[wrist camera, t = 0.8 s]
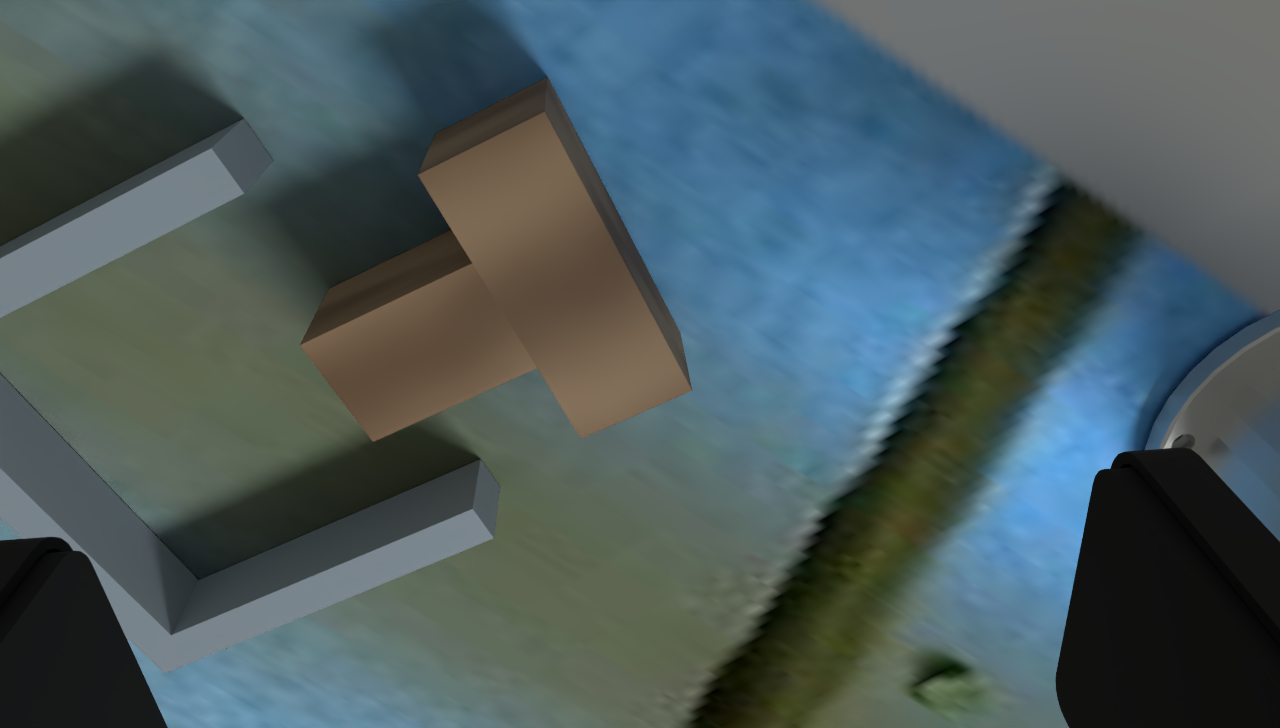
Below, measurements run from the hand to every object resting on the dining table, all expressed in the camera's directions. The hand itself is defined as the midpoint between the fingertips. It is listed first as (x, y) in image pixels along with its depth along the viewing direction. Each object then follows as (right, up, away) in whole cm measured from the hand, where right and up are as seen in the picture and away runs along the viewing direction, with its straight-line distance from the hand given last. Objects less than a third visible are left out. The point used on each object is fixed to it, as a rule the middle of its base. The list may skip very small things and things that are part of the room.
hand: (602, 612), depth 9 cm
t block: (-5, +5, +24) cm, 25 cm away
